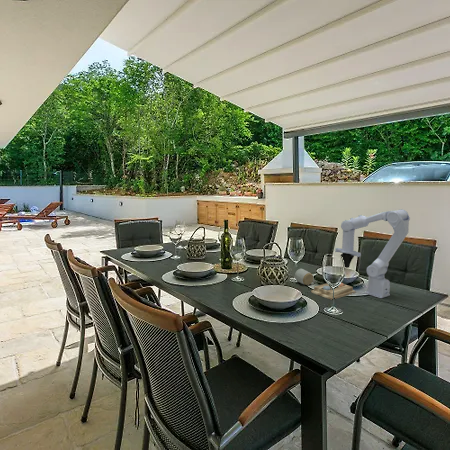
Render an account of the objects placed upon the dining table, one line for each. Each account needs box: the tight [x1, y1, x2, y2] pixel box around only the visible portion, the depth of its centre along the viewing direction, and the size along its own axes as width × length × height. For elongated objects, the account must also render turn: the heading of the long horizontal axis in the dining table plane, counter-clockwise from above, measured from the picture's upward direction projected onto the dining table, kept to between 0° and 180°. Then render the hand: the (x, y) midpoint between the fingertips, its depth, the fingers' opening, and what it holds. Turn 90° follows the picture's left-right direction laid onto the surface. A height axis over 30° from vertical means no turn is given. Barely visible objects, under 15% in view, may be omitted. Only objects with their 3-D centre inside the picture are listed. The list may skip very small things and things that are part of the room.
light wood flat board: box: [311, 283, 356, 301], centre depth 168 cm, size 13×18×3 cm
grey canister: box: [294, 268, 316, 286], centre depth 183 cm, size 11×8×8 cm
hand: (346, 267), depth 177 cm, fingers closed
